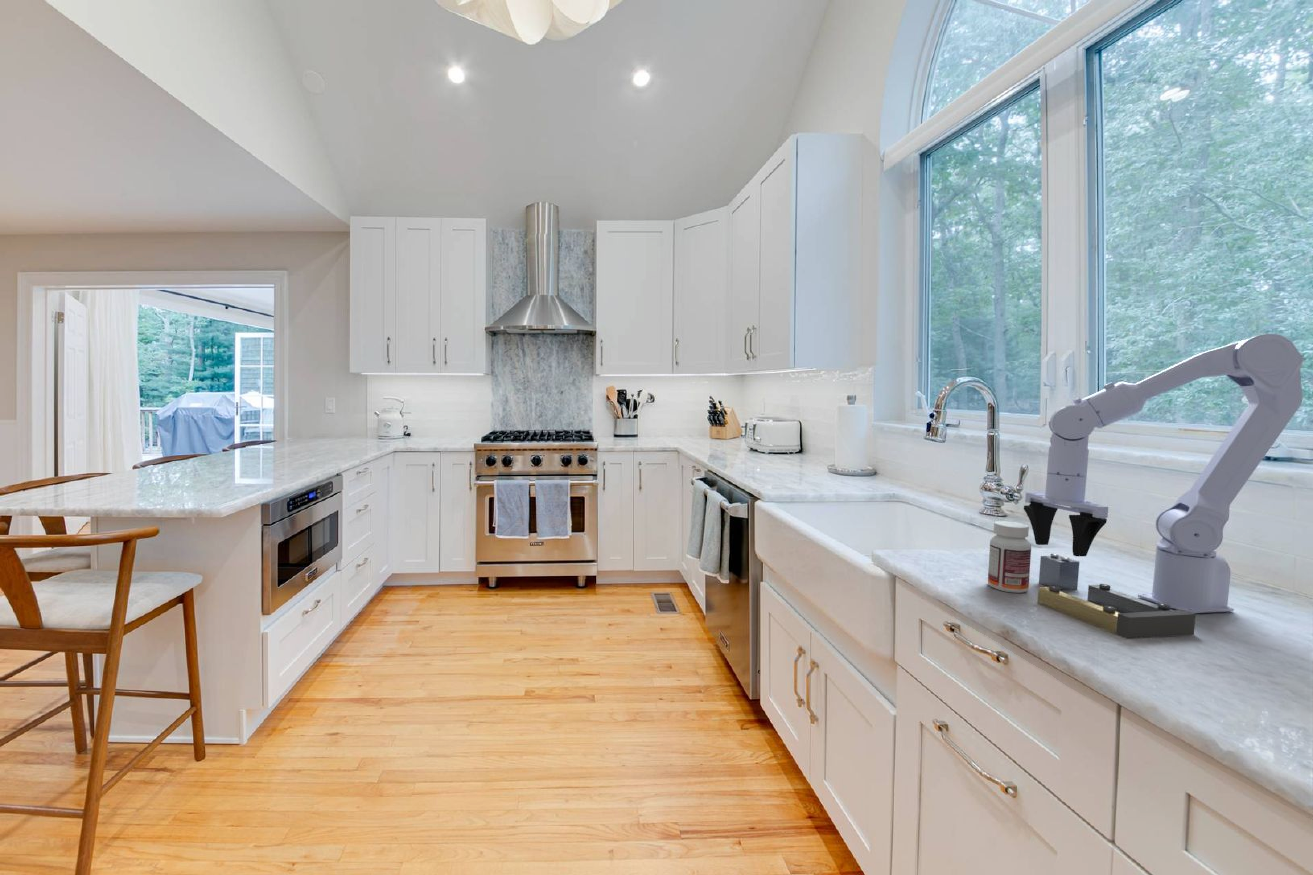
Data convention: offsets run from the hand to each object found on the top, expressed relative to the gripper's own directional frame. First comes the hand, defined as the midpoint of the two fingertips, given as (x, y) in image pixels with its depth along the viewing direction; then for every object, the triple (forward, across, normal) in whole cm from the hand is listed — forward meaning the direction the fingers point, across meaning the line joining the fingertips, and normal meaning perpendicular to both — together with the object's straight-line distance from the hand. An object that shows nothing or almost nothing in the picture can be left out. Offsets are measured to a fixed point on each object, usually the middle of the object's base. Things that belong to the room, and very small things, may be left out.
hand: (1060, 549), depth 102 cm
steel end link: (+6, +14, 0) cm, 15 cm away
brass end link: (+6, +14, -10) cm, 18 cm away
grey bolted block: (+7, 0, 0) cm, 7 cm away
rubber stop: (+6, +21, -5) cm, 23 cm away
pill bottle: (+7, 0, -10) cm, 12 cm away
